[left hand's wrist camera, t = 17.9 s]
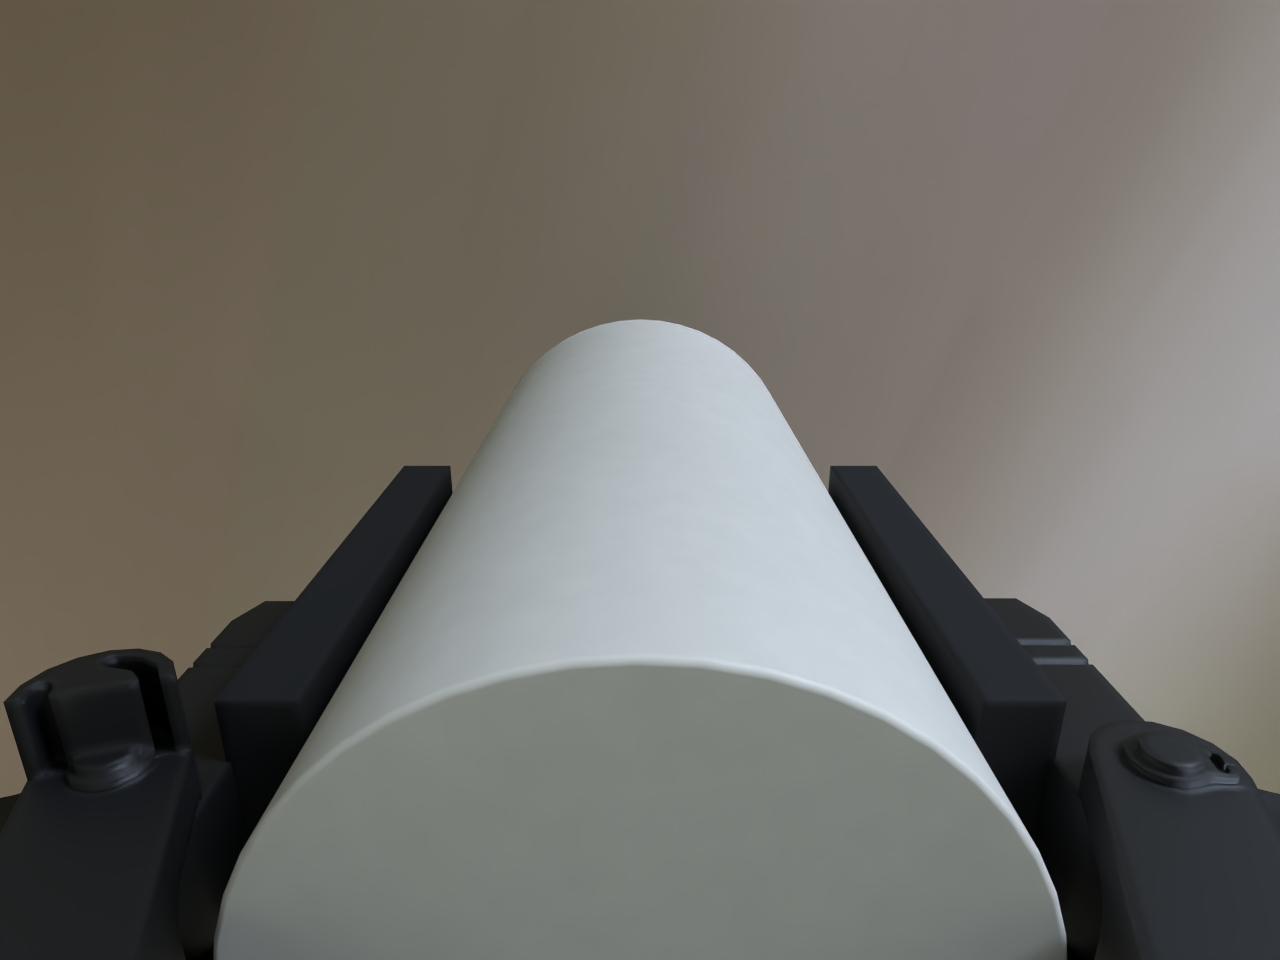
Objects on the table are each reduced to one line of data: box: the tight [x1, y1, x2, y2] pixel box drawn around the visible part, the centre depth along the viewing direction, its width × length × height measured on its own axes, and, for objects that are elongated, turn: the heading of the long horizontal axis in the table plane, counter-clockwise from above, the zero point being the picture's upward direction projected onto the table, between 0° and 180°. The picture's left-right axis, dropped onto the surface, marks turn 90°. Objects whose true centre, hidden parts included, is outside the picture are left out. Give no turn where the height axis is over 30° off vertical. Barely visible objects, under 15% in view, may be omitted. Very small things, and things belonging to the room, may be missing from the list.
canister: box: [213, 320, 1067, 960], centre depth 12 cm, size 6×6×13 cm
